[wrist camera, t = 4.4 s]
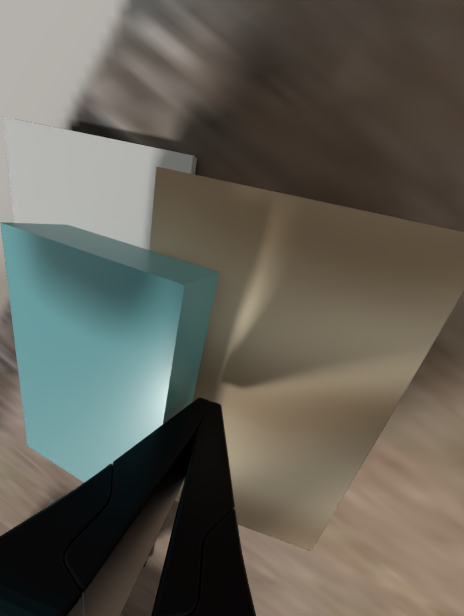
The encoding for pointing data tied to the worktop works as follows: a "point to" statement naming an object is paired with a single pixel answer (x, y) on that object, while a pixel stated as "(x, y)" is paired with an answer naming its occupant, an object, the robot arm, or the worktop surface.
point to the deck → (304, 334)
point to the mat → (85, 180)
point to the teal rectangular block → (101, 340)
